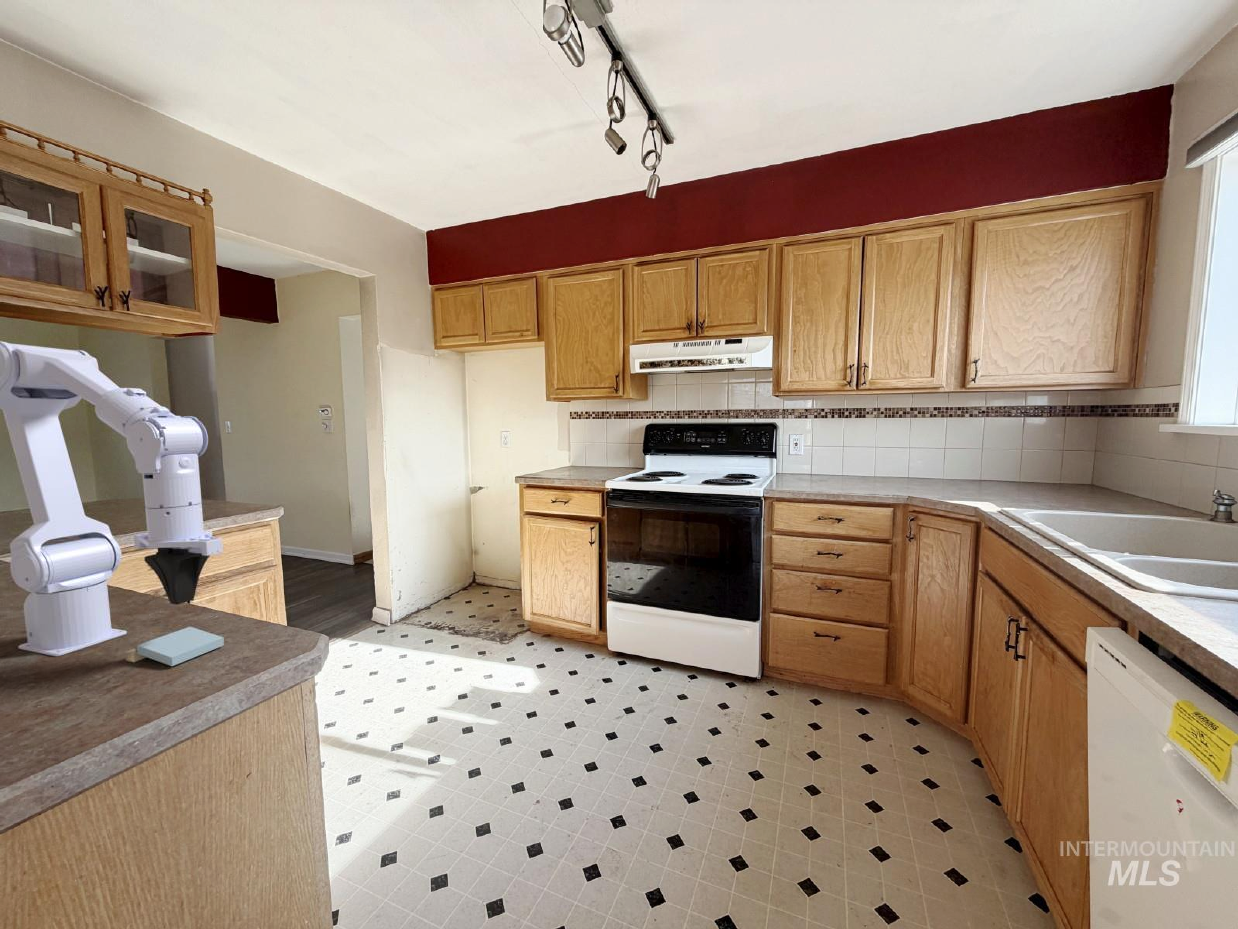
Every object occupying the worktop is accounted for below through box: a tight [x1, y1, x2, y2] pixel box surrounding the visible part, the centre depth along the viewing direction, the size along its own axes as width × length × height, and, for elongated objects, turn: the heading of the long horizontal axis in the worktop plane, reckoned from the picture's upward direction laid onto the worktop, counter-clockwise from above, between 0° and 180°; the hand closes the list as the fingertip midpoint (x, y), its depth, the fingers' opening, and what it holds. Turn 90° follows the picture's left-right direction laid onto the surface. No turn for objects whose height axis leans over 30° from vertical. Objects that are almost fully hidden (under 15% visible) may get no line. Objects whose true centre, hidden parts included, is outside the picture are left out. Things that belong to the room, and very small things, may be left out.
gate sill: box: [124, 648, 148, 663], centre depth 70 cm, size 2×7×1 cm, turn 163°
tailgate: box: [134, 626, 225, 667], centre depth 69 cm, size 1×6×7 cm
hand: (182, 601), depth 68 cm, fingers closed
